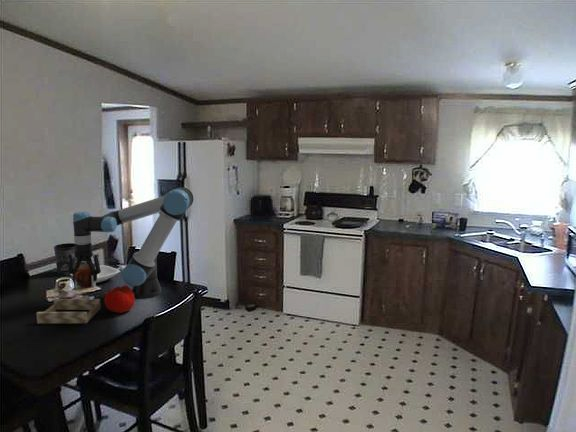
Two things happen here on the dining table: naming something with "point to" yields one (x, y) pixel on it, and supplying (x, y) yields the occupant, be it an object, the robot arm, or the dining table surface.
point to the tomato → (119, 299)
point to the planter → (64, 255)
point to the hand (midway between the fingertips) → (85, 286)
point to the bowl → (105, 273)
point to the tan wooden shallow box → (69, 317)
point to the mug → (84, 276)
